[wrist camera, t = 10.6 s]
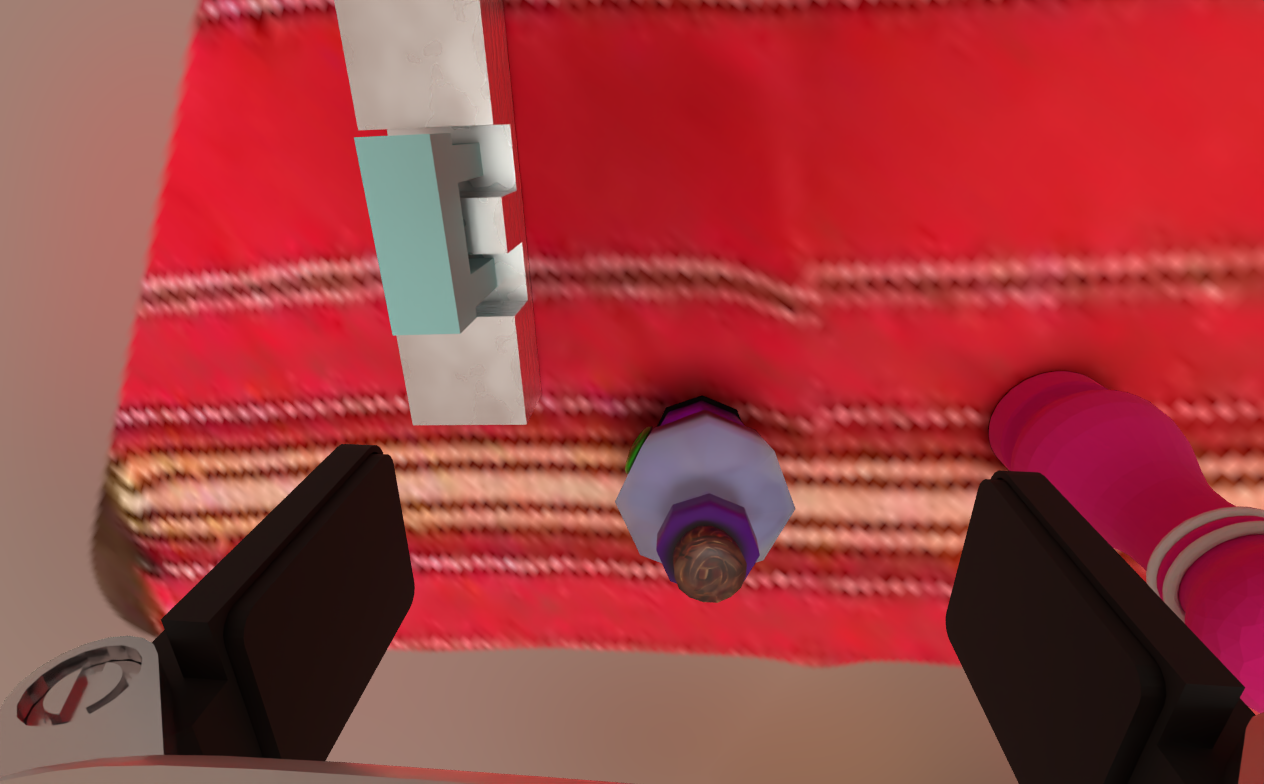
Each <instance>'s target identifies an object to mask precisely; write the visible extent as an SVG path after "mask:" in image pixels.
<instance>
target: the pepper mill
mask: <svg viewBox="0 0 1264 784" xmlns="http://www.w3.org/2000/svg"><path fill="white" fill-rule="evenodd" d="M989 441H990V445H991V448H992V450H993V452H994V454H995V455H996V456H997V458H998V459H999V460H1000V461H1001V462H1002V463H1003V464H1004V465H1005V466H1006V467H1007V468H1008V469H1009V471H1023V472H1039V473H1041V474H1042V475H1044V476H1045V477H1046V478H1047V479H1048V480H1049V481H1050V482H1051V483H1052V484H1053V485H1054V486H1055V487H1056V489H1057V490H1058V491H1059V492H1060V493H1061V494H1062V495H1063V496H1064V497H1065V498H1066V499H1067V500H1068V501H1069V502H1070V503H1071V504H1072V505H1073V506H1074V508H1075V509H1076V510H1077V511H1078V512H1079V513H1080V514H1081V515H1082V516H1083V517H1084V518H1085V519H1086V520H1087V521H1088V522H1089V523H1090V524H1091V525H1092V526H1093V528H1094V529H1095V530H1096V531H1097V532H1098V533H1099V534H1100V535H1101V536H1102V537H1103V538H1104V539H1105V540H1106V541H1107V542H1108V543H1109V544H1110V545H1111V546H1112V548H1115V549H1118V550H1120V551H1122V552H1124V553H1126V554H1128V555H1129V556H1130V557H1131V558H1133V559H1134V560H1135V561H1136V562H1137V563H1138V564H1140V565H1141V566H1142V567H1143V568H1144V569H1145V570H1146V579H1147V584H1148V585H1149V587H1150V588H1151V589H1152V590H1153V591H1154V592H1155V593H1156V594H1157V595H1158V596H1159V597H1160V598H1161V599H1162V600H1163V601H1164V602H1165V603H1166V604H1167V605H1168V607H1169V608H1170V609H1171V610H1172V611H1173V612H1174V613H1175V614H1176V615H1177V616H1178V617H1179V618H1180V619H1181V620H1182V621H1183V622H1184V623H1185V624H1186V625H1187V627H1188V628H1189V629H1190V630H1191V631H1192V632H1193V633H1194V634H1195V635H1196V636H1197V637H1198V638H1199V639H1200V640H1201V641H1202V642H1203V643H1204V644H1205V646H1206V647H1207V648H1208V649H1209V650H1210V651H1211V652H1212V653H1213V654H1214V655H1215V656H1216V657H1217V658H1218V659H1219V660H1220V661H1221V662H1222V663H1223V664H1224V666H1225V667H1226V668H1227V669H1228V670H1229V671H1230V672H1231V673H1232V674H1233V675H1234V676H1235V677H1236V678H1237V679H1238V680H1239V681H1240V682H1241V683H1242V684H1243V686H1244V687H1245V689H1244V691H1243V693H1242V695H1241V697H1240V699H1241V700H1242V701H1243V702H1244V703H1245V704H1246V705H1247V706H1248V707H1250V708H1252V709H1254V710H1255V711H1257V712H1259V713H1263V712H1264V510H1261V509H1256V508H1251V507H1236V506H1234V505H1233V504H1231V503H1229V502H1228V501H1226V500H1225V499H1224V498H1222V497H1221V496H1220V495H1219V494H1217V493H1216V492H1215V491H1213V489H1212V488H1211V487H1210V486H1209V485H1208V483H1207V481H1206V479H1205V477H1204V475H1203V473H1202V472H1201V469H1200V466H1199V464H1198V461H1197V459H1196V456H1195V454H1194V451H1193V449H1192V447H1191V445H1190V443H1189V442H1188V440H1187V439H1186V437H1185V436H1184V435H1183V433H1182V432H1181V430H1180V429H1179V428H1178V426H1177V425H1176V424H1175V423H1174V421H1173V420H1172V419H1171V418H1169V417H1168V416H1167V415H1166V414H1164V413H1163V412H1162V411H1161V410H1159V409H1158V408H1157V407H1156V406H1154V405H1153V404H1152V403H1151V402H1149V401H1147V400H1145V399H1143V398H1141V397H1139V396H1136V395H1133V394H1130V393H1127V392H1122V391H1117V390H1108V389H1107V388H1105V387H1103V386H1102V385H1100V384H1099V383H1097V382H1096V381H1094V380H1092V379H1091V378H1089V377H1087V376H1085V375H1082V374H1079V373H1074V372H1068V371H1055V372H1049V373H1043V374H1039V375H1037V376H1034V377H1032V378H1029V379H1027V380H1024V381H1023V382H1021V383H1020V384H1019V385H1017V386H1016V387H1014V388H1013V389H1011V390H1010V391H1009V392H1008V393H1007V394H1006V395H1005V396H1004V397H1003V399H1002V400H1001V401H1000V402H999V403H998V405H997V407H996V408H995V410H994V412H993V414H992V416H991V420H990V424H989Z"/></svg>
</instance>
